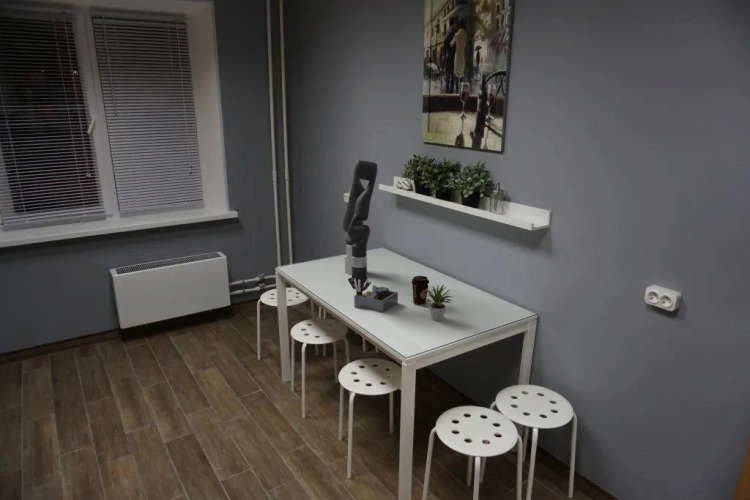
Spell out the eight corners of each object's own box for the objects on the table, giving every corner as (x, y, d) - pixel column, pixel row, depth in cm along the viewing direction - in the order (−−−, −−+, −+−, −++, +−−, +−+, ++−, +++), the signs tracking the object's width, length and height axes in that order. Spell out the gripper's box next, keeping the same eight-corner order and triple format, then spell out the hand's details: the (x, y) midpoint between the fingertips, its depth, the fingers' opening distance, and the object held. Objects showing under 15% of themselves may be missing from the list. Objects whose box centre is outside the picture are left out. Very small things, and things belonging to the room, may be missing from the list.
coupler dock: (353, 306, 238) (353, 289, 236) (373, 295, 252) (373, 279, 249) (380, 314, 230) (380, 296, 227) (399, 301, 244) (400, 285, 241)
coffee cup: (430, 301, 245) (431, 276, 241) (426, 307, 237) (427, 281, 234) (413, 298, 248) (414, 274, 244) (409, 305, 240) (409, 279, 236)
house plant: (429, 328, 215) (430, 293, 211) (414, 316, 228) (415, 282, 223) (457, 322, 221) (459, 288, 216) (441, 311, 233) (442, 278, 228)
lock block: (359, 304, 242) (358, 296, 241) (368, 298, 250) (368, 290, 248) (373, 308, 238) (373, 299, 237) (382, 301, 246) (382, 293, 244)
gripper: (343, 264, 241) (344, 297, 246) (366, 269, 234) (366, 303, 239) (352, 260, 247) (353, 292, 252) (374, 265, 240) (374, 298, 245)
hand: (359, 297), depth 246 cm, fingers closed
